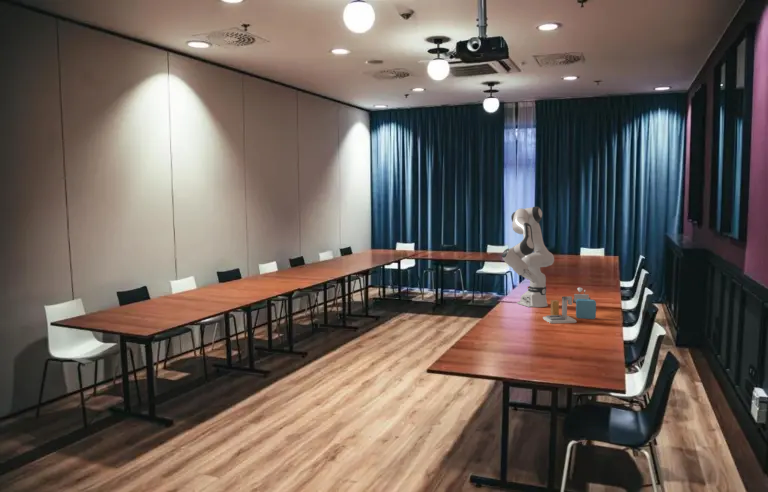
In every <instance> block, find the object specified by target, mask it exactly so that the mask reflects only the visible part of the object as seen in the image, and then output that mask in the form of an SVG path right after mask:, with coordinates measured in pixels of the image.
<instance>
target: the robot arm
mask: <svg viewBox="0 0 768 492" xmlns="http://www.w3.org/2000/svg"><path fill="white" fill-rule="evenodd" d="M542 218H543V211H542V210H541V208H540V207H539V206H533V207H525V208H518V209H517V210H515V211H514V212H512V213H511V222H512V226H511V228H512V231H513V232H514V233H517V234H519V235H522V236H523V238H522V240H521V241H520V242H519V243H517V244H515V245H514V246H512V247H510V248H506V249H505V250H504V251H503V252H502V254H501V258H502V260H503V261H504V263H506V265H507V266H509V267H510V268H512V270H513V271H514V272H515V274H517V275H518V276H521V277H523V278H524V279H527V280H528V281H529V286H527V290H526V291H525V292H523V294H522V295H520V300H519V301H517V302H516V304H517V305H521V306H524V307H528V308H545V307H548V306H549V305H548V302H547V286H546V283H547V280H546V279H547V278H546V275H545V273H544V272H542V271H541V268H547V267H550V266H552V265H553V264H554V262H555V256H554V254H553V253H552V252H550V251H549V249H548V248H547V246H546V245H545V242H544V239H543V234H542V229H541V225H540V222H541V221H542Z"/></svg>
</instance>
